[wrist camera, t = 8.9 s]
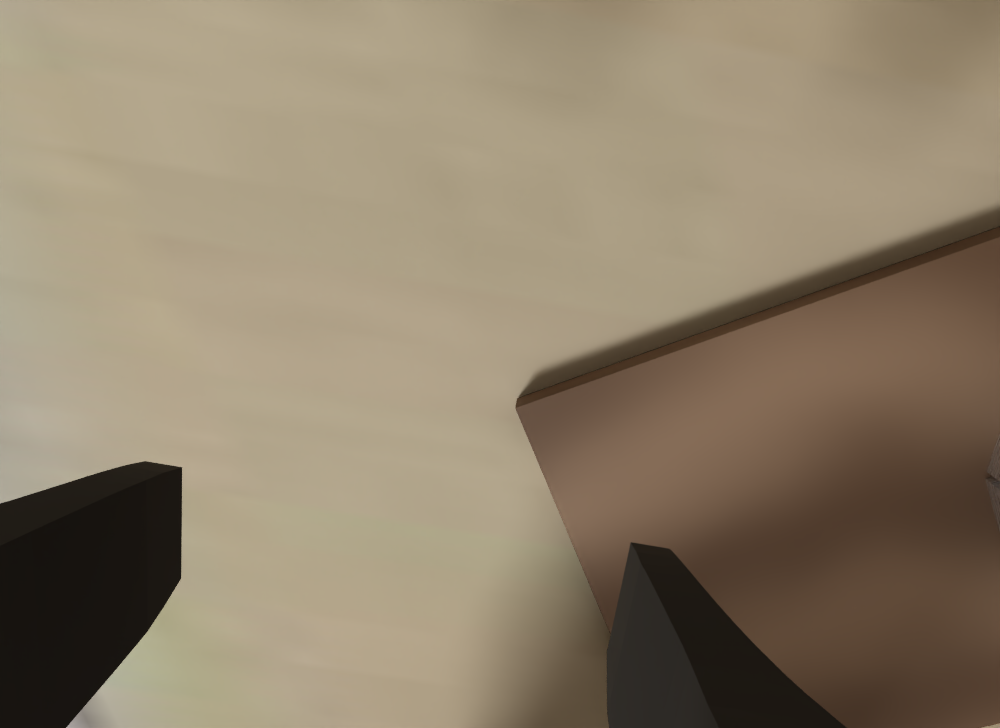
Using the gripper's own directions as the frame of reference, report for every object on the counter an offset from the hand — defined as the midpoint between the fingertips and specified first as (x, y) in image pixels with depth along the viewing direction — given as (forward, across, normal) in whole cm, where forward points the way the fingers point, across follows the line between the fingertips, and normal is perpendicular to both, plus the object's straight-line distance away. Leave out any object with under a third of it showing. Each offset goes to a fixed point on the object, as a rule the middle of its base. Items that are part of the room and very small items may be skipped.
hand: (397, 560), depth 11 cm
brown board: (+9, -14, +1) cm, 17 cm away
